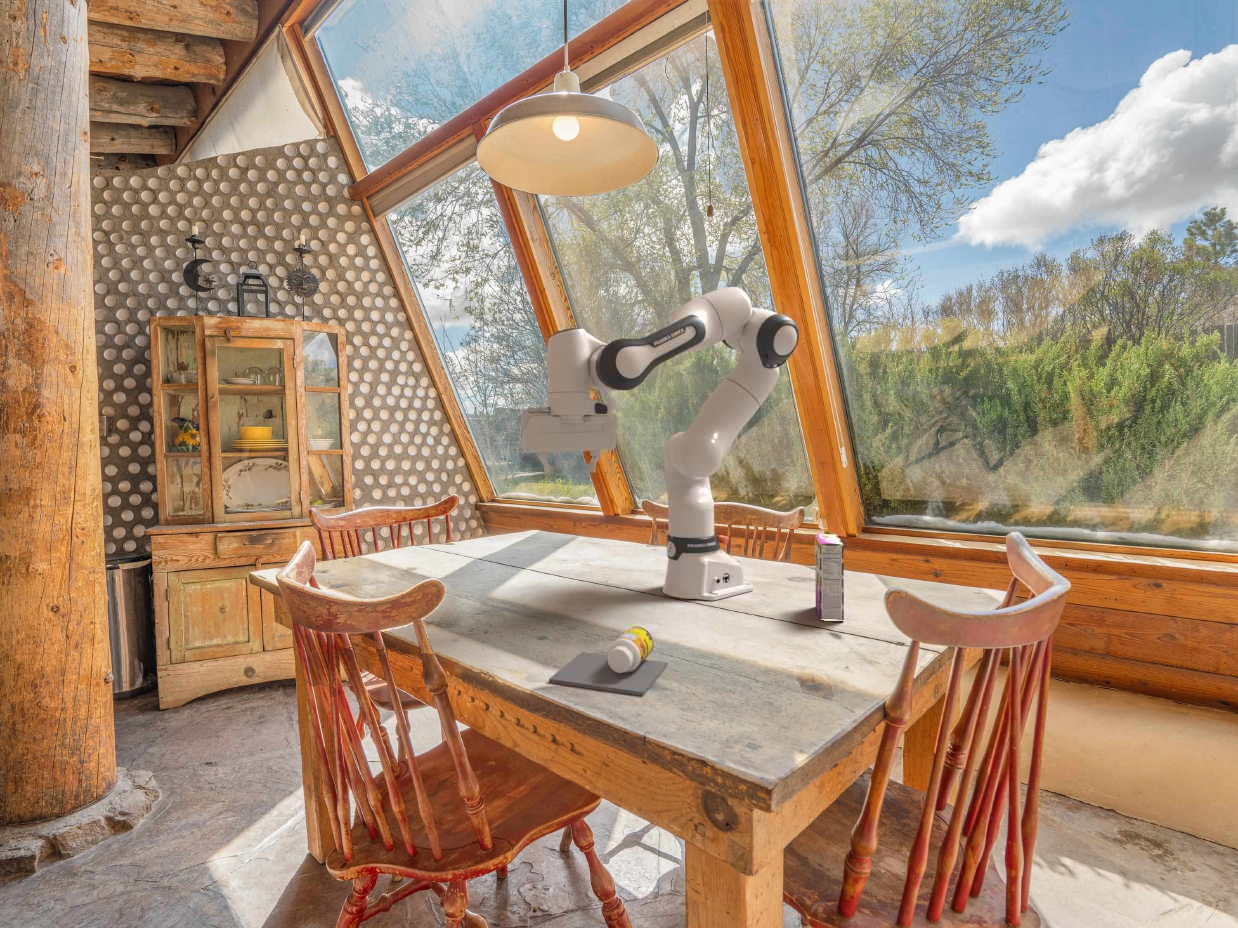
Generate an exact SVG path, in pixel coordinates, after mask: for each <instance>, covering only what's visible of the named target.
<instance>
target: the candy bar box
mask: <svg viewBox="0 0 1238 928" xmlns="http://www.w3.org/2000/svg"><path fill="white" fill-rule="evenodd" d="M844 546H845V545H844V543H843V542H842V540H841V538H840V537H839V536H838V535H837V534H829V533H823V534H822V533H817V534H814V562H815V563H814V564H815V565H814V567H815V569H814V570H815V572H814V573H815V577H814V579H815V584H814V585H815V608H816V611H817V610H818V611H817V613H819V614H818V617H819V616H820V617H819V620H820V619H837V620H844V621H845V617H844V615H845V612H844V610H845V609H844V608H845V604H844V603H845V601H844V600H845V593H844V590H845V587H844V585H845V584H844V583H845V582H844V581H845V578H844V577H845V575H844V574H845V571H844V568H845V566H844V565H845V564H844V563H845V562H844V551H845V550H844Z"/></svg>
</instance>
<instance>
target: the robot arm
mask: <svg viewBox="0 0 1238 928" xmlns="http://www.w3.org/2000/svg"><path fill="white" fill-rule="evenodd" d="M799 330H800V329H799V327H798V324H797V323H796V321H795V320H793V319H792V318H791V317H789V316H787V315H785V314H783V313H778V312H775V311H773V310H770V309H766V308H763V307H762V308H760V307H753V305H752V302H751V299H750V297H749V296H748V294H747V293H746V291H744V290H743V289H741V288H740V287H737V286H728V287H723V288H720V289H719V288H718V289H717V290H716V289H715V290H712V291H709V292H707V293H704V294H702V295H700V296H698V297H695V298H693V299H692V300H690V301H687V302H686V303H684V304H683V305H682V306H680V307H678V308H677V309H676V310H674V312H672V314H671V316H670V321H669V324H668V325H666V326H664V327H662V328H660V329H658V330H655V331H654V332H651V333H650V334H647V335H646V336H644V337H641V338H618V339H615V340H613V341H611V342H610V343H606V342H604V341H602V340H600V339H598V338H596V337H594V336H592V334H590V333H588V332H587V331H586V329H584V328H582V327H571V328H565V329H562V330H558V331H556V332H554V333H552V335H551V336H550V337H549V338H548V341H547V346H546V347H547V349H546V375H547V377H548V387H547V391H546V392H547V394H546V395H547V406H546V407H543V406H542V407H528V408H527V409H525V410H524V411H522V413H521V416H520V418H521V419H520V420H521V421H520V422H521V427H522V434H521V449H522V451H524V453H527V454H538V460H539V461H540V463H541V464H542V465H543V470H544V472H543V473H544V475H545V476H550V475H551V476H552V475H555V467H554V465H550V464H549V461H548V460H547V459H549V458H550V456H549V453H565V452H566V453H567V452H590V456H592V457H591V459H590V461H589V463H586V464H585V468H586V469H585V471H586V473H591V474H592V473H596V465H597V463H598V461H599V459H600V457H601V451H612V450H614V448H615V447H616V445H617V436H616V435H617V434H616V425H615V422H614V419H613V418H612V417H611V415H612V412H613V407H612V406H611V404H608V403H605V402H602V401H599V400H597V399H593V398H591V394H590V393H591V389H592V390H597V391H600V392H606V393H607V392H616V391H630V390H633V389H635V388H637V387H639V386H640V385H641V384H642V383H643V382H644V381H645V380H647V378H648V376H649V375H650V374H651V372H652V371H653V370H654V369H655V368H656V367H657V366H659V365H661V364H662V363H665V362H667V361H669V360H670V359H673V358H674V357H676V356H678V355H681V354H682V353H684V352H687V353H694V352H698V351H702V350H704V349H708V348H709V347H712V346H714V345H716V344H718V343H720V342H722V343H723V344H724V345H725V347H728V348H729V349H732V350H735V351H736V352H739V353H740V354H739V357H738V360H737V363H736V364H735V366H734V367H733V368H732V369H731V370H730V371H729V373H728V374H726V376H725V377H723V379H722V381H720V383H719V384H718V386H717V387H716V388H714V390H713V391H712V393H711V394H710V395H709V396H708V398H706V400H705V401H704V402H703V404H702V406H701V408H700V410H699V411H698V413H697V415H696V416H695V418H694V419H693V421H692V422H691V423H690V425H689V427H688V428H687V429H686V430H685V431H681V432H680V431H679V432H677V433H676V434H673V435H672V436H670V437H669V438H668V440H667V441H666V442H665V444H664V447H663V450H662V451H663V452H662V456H663V467H664V479H665V487H666V495H667V506H668V509H667V510H668V511H667V512H668V533H667V534H666V555H667V566H666V573H665V579H664V584H663V588H662V593H664V594H665V595H667V596H669V597H674V598H680V599H685V600H687V599H690V600H692V599H693V600H695V599H696V600H705V601H717V600H721V599H725V598H729V597H732V596H736V595H740V594H743V593H748V592H751V591H752V592H753V591H754V585H753V584H752V583H750V582H749V581H746V580H745V578H744V571H743V568H742V565H741V563H739V561H737V560H736V559H734V558H733V557H732V556H730V555H729V554H728V553H726V552H725V551H724V550H723V549H721V545H720V544H723V545H728V543H729V539H730V538H729V537H728V536H726V535H722V534H721V535H717V534H716V533H715V502H714V498H713V494H712V490H711V483H710V482H711V481H710V477H711V476H712V475H714V474H715V473H716V472H717V471H719V468H720V467H721V465H722V461H723V460H724V458H725V456H726V455H727V453H728V452H729V450H730V448H731V447H732V445H733V443H734V441H735V440H736V438H737V436H738V435H739V433H740V432H741V431H742V430H743V428H744V427H745V426H746V425H747V423H748V422H749V421H750V420H751V418H752V417H753V416H754V415H755V413H756V412H757V411H758V410H759V408H760V407H761V406H762V405H763V403H764V402H765V401H766V399H767V398H768V397H769V395H770V394H771V392H772V390H773V389H774V387H775V386H776V383H777V381H778V380H779V377H780V367H781V366H782V365H784V364H785V363H786V362H787V360H788V359H789V358H791V355H793V353H794V351H795V350H796V348H797V345H798V343H799V339H800V338H799V337H800V331H799Z"/></svg>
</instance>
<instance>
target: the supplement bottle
mask: <svg viewBox="0 0 1238 928" xmlns="http://www.w3.org/2000/svg"><path fill="white" fill-rule="evenodd" d="M654 640H655V639H654V638H653V636H652V633H651V632H650V631H649V630H648V629H647V628H645V627H643V626H639V625H638V626H637V625H636V626H632V627H630V628H628V630H626V631H625V632H624V633H622V634H621V635H620V636H619V637H618V638H617V639H616V640H614V641H613V642H612V643H611V645H610V646H609V649H608V654H607V655H608V664H609V666H610V667H611V669H612V670H614V671H615V672H618V673H623V672H631V671H633V670H635V669H636V668H637V667H638V666H639V665H640V664H641V663H642V662H643V661H644V660H647V658H648V657H649V655H650V654H651V653H652V651H653V650H654V646H655V641H654Z"/></svg>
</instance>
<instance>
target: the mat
mask: <svg viewBox="0 0 1238 928" xmlns="http://www.w3.org/2000/svg"><path fill="white" fill-rule="evenodd" d="M608 655H609V654H604V653H603V654H602V653H595V652H587V651H586V652H585V651H581V652H580V653H579V654H578V655H576V656H575V657H574V658H573V659H572V660H570V661H569V662H568V663H566V664H565V665H564V666H563V667H561V668H560V669H559V670H558V671H557V672H555V673H554V674H553V675H552V676H551V677H549V678H548V682H549V683H551V684H557V685H564V686H569V687H570V686H571V687H579V688H585V689H591V690H592V689H593V690H598V691H605V692H612V693H620V694H626V695H627V694H628V695H634V696H639V697H644V696H645V695H646V693H647V692H648V691H649V689H650V688H651V687H652V686H653V684H654V683H655V682H656V681H657V680H658V678H659V677H660V676H661V675H662V673H664V671H665V670H666V668H667V667H668V666H669V665H668V664H669V663H668V661H660V660H652V659H645V660H644V661H643V662H642V663H641V664H640V665H639V666H638V667H637V668H636V669H635V670H633V671H631V672H623V673H618V672H615V671H614V670H612V669H611V667H610V666H609V664H608ZM549 683H548V684H549Z"/></svg>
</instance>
